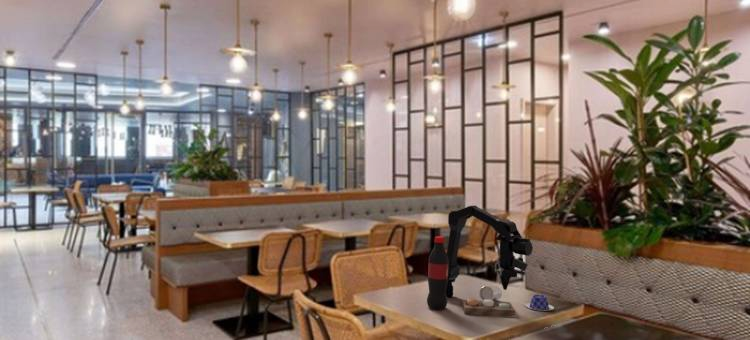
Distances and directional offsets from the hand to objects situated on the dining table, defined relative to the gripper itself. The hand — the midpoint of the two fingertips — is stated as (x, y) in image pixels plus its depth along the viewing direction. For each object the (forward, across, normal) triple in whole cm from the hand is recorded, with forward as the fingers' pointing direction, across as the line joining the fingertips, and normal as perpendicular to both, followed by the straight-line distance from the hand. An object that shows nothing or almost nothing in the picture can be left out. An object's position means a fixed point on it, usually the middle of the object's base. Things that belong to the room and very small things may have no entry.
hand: (505, 289), depth 220 cm
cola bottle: (+9, 0, +28) cm, 29 cm away
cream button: (+8, 0, +7) cm, 10 cm away
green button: (+9, 0, 0) cm, 9 cm away
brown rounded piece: (+8, 0, +13) cm, 15 cm away
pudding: (+10, +10, -16) cm, 22 cm away
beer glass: (+6, +19, +1) cm, 20 cm away
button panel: (+9, 0, +7) cm, 11 cm away
